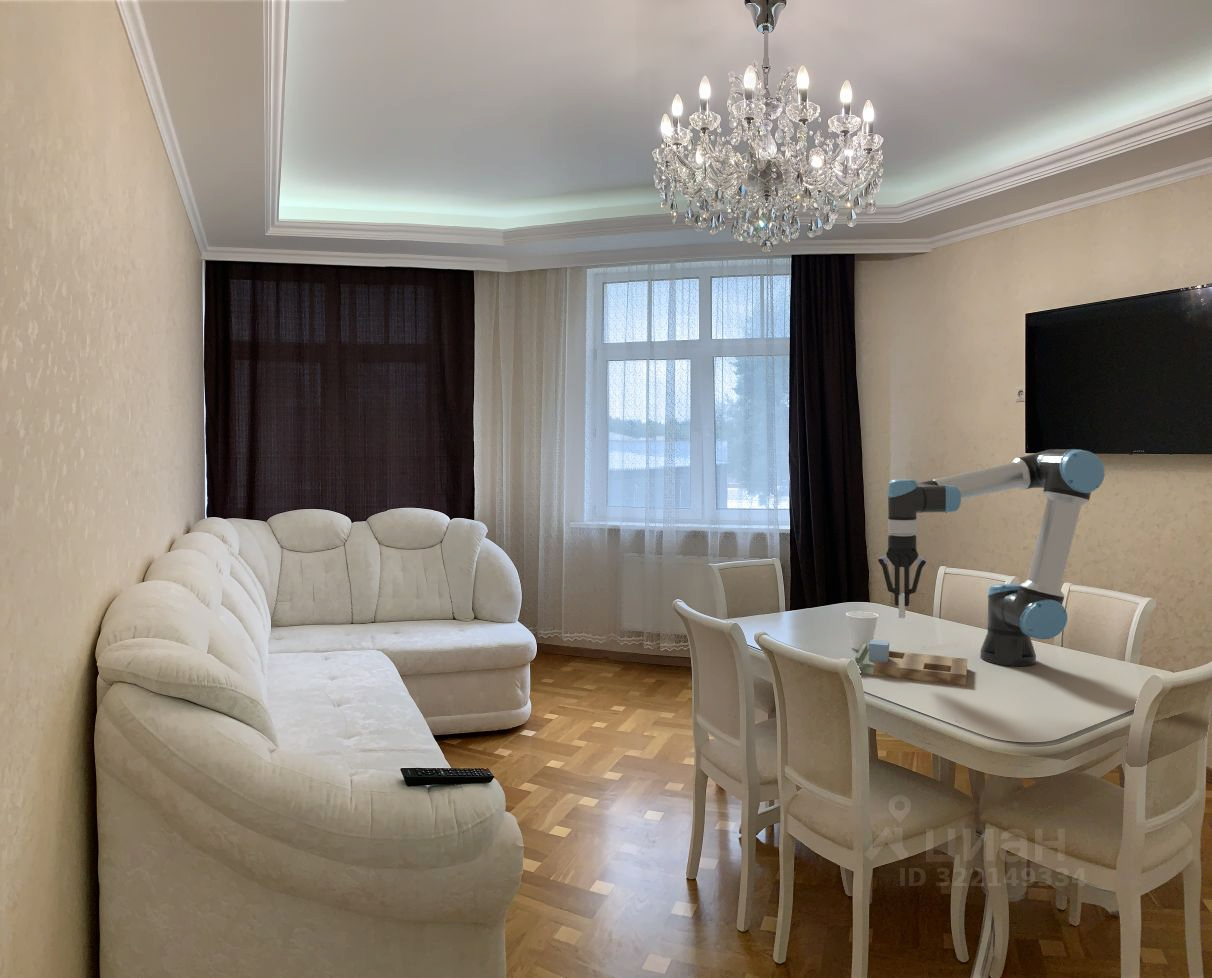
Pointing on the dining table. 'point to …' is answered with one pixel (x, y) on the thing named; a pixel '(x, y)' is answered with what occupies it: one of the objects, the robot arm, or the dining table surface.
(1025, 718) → the dining table surface
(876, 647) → the block
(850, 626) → the cup
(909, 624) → the dining table surface
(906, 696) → the dining table surface
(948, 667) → the board
